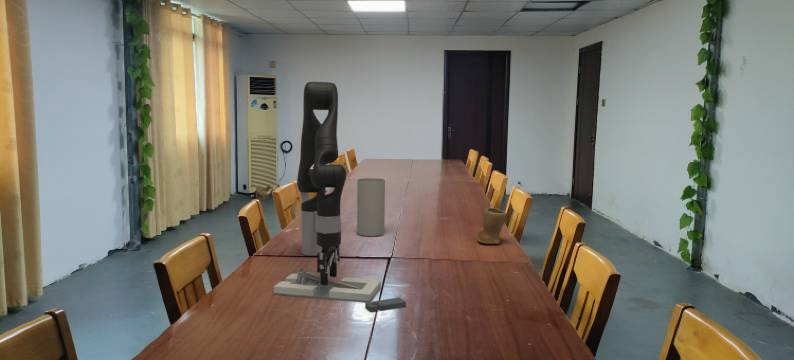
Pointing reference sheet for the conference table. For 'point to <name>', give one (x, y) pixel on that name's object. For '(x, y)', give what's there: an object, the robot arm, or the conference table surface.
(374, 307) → the bracket
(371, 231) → the cylinder vase
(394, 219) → the conference table surface
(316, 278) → the caliper
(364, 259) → the conference table surface
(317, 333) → the conference table surface
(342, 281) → the case insert
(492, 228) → the brown boot-shaped vase
